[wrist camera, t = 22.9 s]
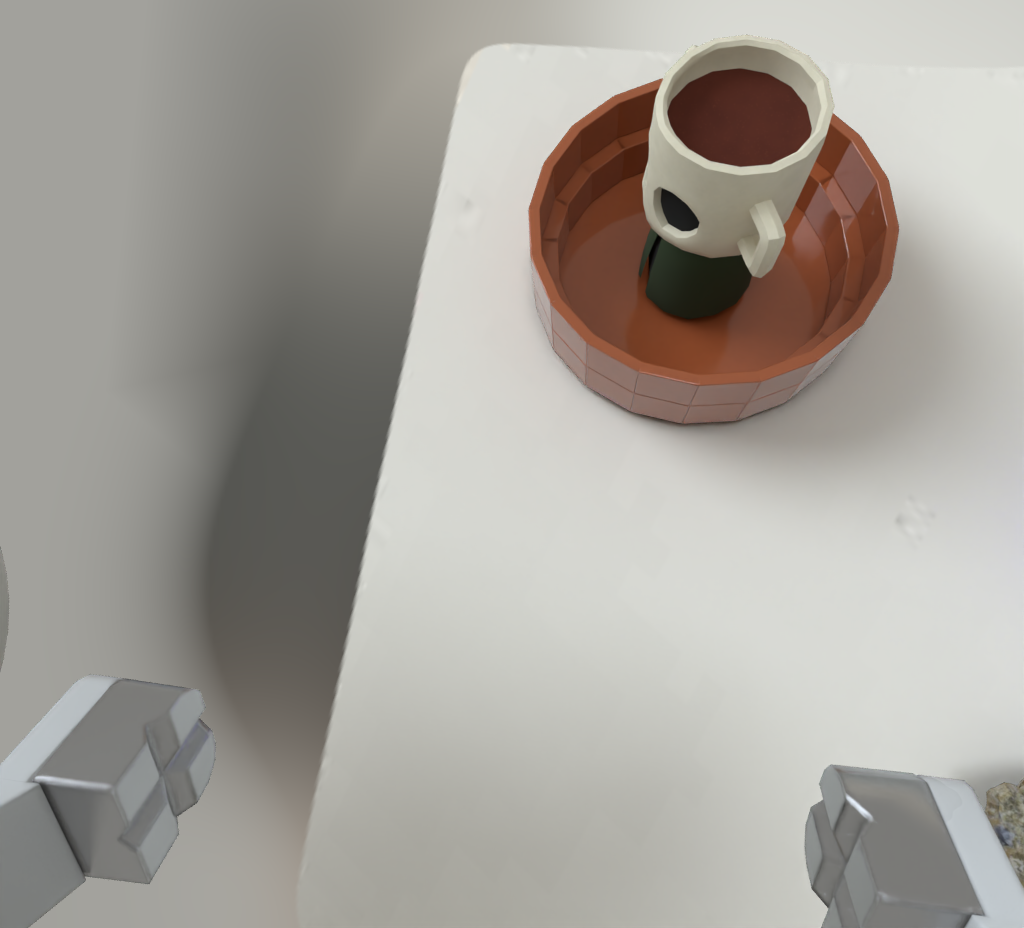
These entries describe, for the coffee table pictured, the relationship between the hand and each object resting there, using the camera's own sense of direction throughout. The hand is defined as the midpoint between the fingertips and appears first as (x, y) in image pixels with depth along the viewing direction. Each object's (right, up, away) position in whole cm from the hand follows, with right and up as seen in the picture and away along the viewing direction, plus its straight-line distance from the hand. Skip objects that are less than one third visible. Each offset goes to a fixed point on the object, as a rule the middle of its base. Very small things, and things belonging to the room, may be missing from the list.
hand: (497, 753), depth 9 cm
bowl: (+11, +15, +32) cm, 37 cm away
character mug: (+11, +15, +32) cm, 36 cm away
